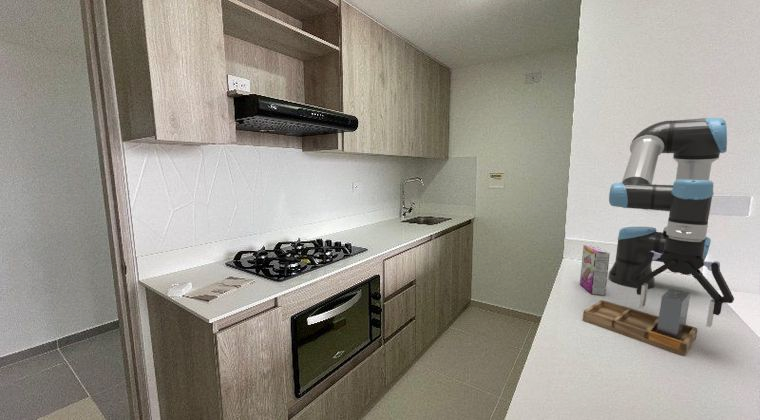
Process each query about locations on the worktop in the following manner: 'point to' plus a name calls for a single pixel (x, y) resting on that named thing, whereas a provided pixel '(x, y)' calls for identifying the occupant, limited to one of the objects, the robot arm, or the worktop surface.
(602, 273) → the candy bar box
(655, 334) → the bay rack
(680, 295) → the panel
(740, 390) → the worktop surface
